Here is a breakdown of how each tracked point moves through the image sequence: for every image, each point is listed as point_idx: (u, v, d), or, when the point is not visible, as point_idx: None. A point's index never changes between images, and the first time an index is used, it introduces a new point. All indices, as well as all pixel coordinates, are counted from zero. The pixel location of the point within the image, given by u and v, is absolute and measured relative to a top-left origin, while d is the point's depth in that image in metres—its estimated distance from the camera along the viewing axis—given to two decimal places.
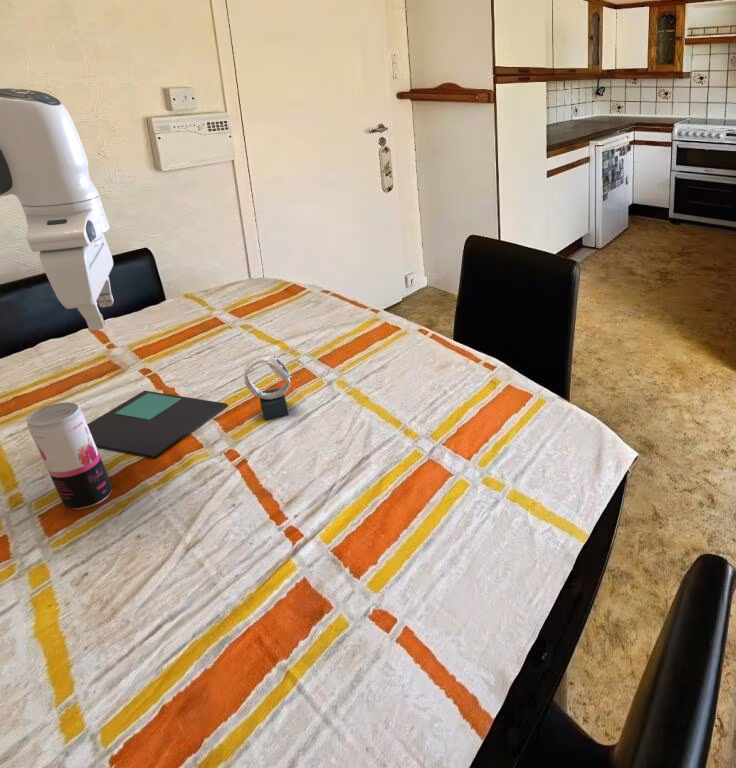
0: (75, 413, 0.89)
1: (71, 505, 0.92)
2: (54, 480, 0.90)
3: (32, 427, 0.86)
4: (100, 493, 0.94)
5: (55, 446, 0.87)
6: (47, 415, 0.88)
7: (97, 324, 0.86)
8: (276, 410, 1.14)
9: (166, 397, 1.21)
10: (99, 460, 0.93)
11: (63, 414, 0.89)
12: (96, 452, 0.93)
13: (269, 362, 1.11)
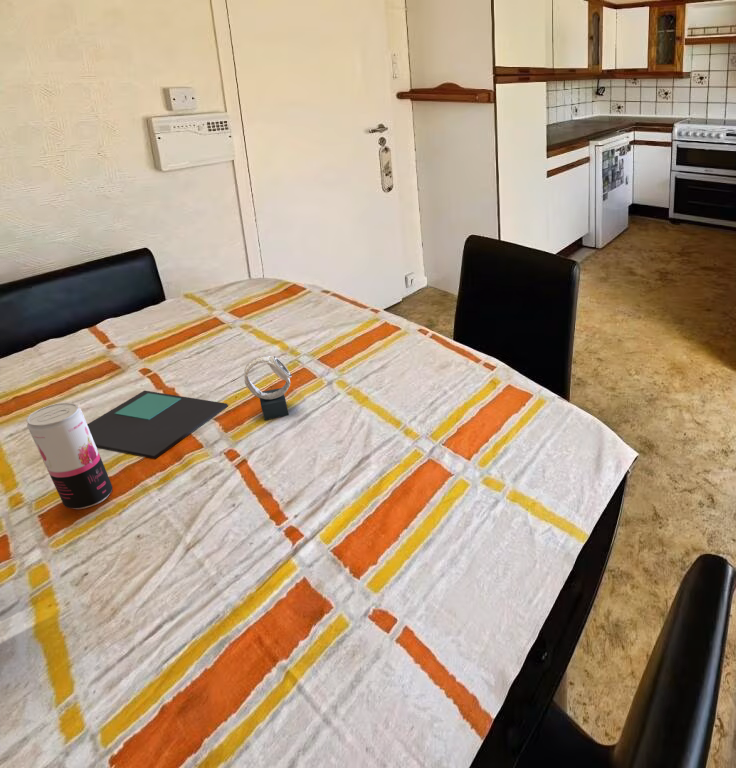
0: (75, 413, 0.89)
1: (71, 505, 0.92)
2: (54, 480, 0.90)
3: (32, 427, 0.86)
4: (100, 493, 0.94)
5: (55, 446, 0.87)
6: (47, 415, 0.88)
7: None
8: (276, 410, 1.14)
9: (166, 397, 1.21)
10: (99, 460, 0.93)
11: (63, 414, 0.89)
12: (96, 452, 0.93)
13: (269, 362, 1.11)
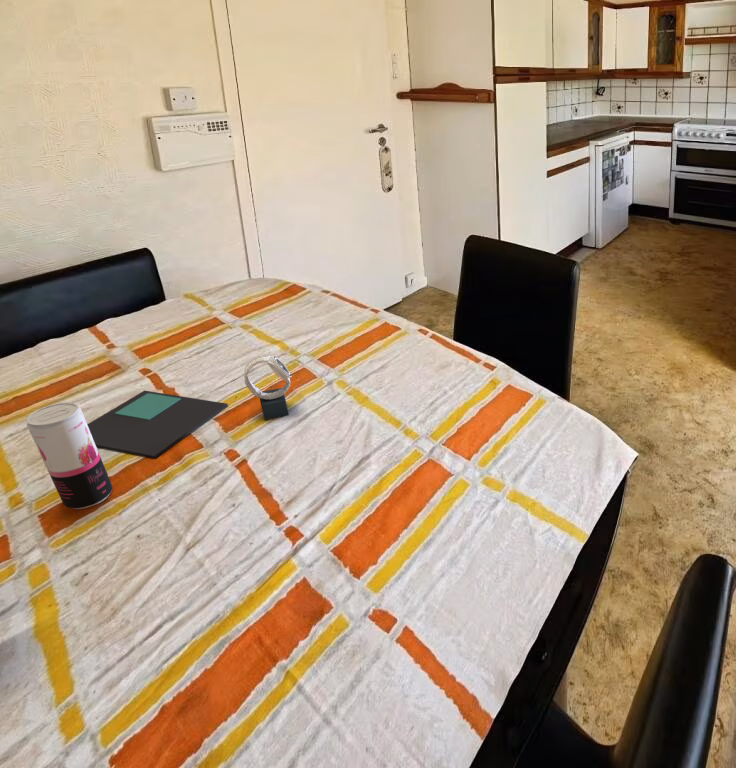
0: (75, 413, 0.89)
1: (71, 505, 0.92)
2: (54, 480, 0.90)
3: (32, 427, 0.86)
4: (100, 493, 0.94)
5: (55, 446, 0.87)
6: (47, 415, 0.88)
7: None
8: (276, 410, 1.14)
9: (166, 397, 1.21)
10: (99, 460, 0.93)
11: (63, 414, 0.89)
12: (96, 452, 0.93)
13: (269, 362, 1.11)
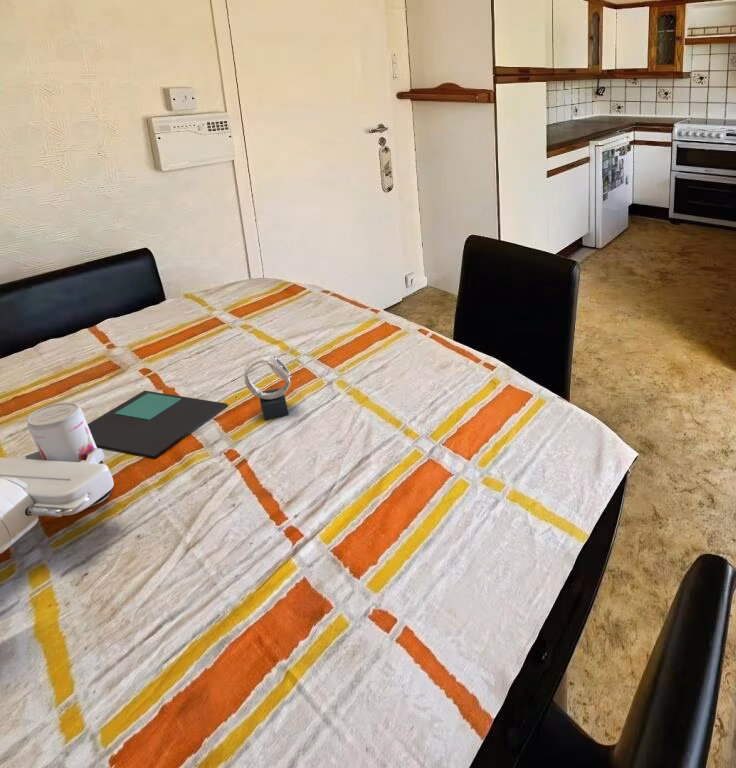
0: (75, 413, 0.89)
1: None
2: None
3: (32, 427, 0.86)
4: None
5: (56, 446, 0.87)
6: (47, 415, 0.88)
7: None
8: (276, 410, 1.14)
9: (166, 397, 1.21)
10: None
11: (63, 413, 0.89)
12: None
13: (269, 362, 1.11)
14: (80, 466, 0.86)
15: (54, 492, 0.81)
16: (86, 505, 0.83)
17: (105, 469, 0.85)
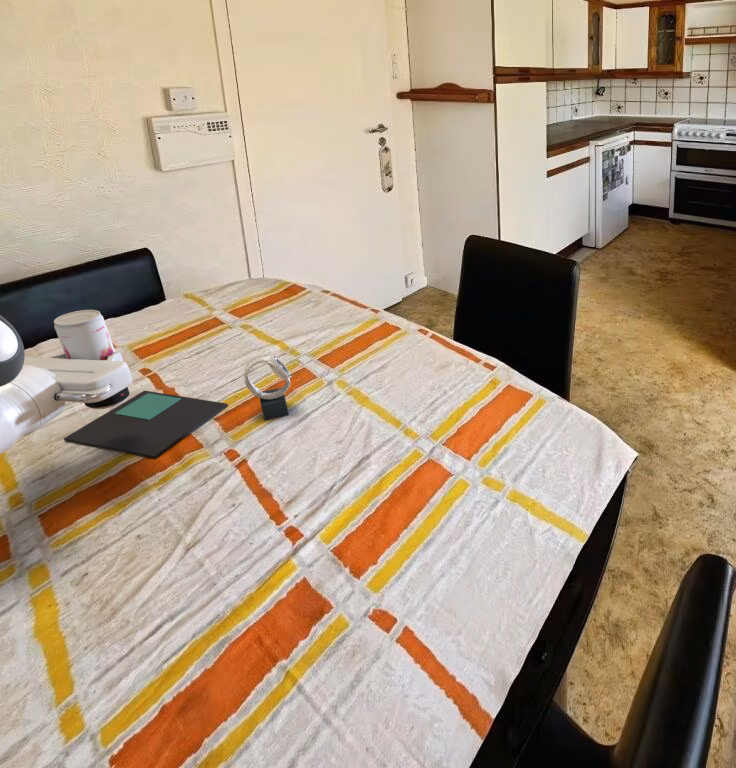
0: (98, 317, 0.97)
1: (92, 405, 1.01)
2: None
3: (59, 327, 0.95)
4: (119, 395, 1.02)
5: (80, 346, 0.96)
6: (72, 318, 0.97)
7: None
8: (276, 410, 1.14)
9: (166, 397, 1.21)
10: None
11: (86, 318, 0.97)
12: None
13: (269, 362, 1.11)
14: (103, 363, 0.94)
15: (80, 380, 0.89)
16: (108, 395, 0.92)
17: (125, 365, 0.94)
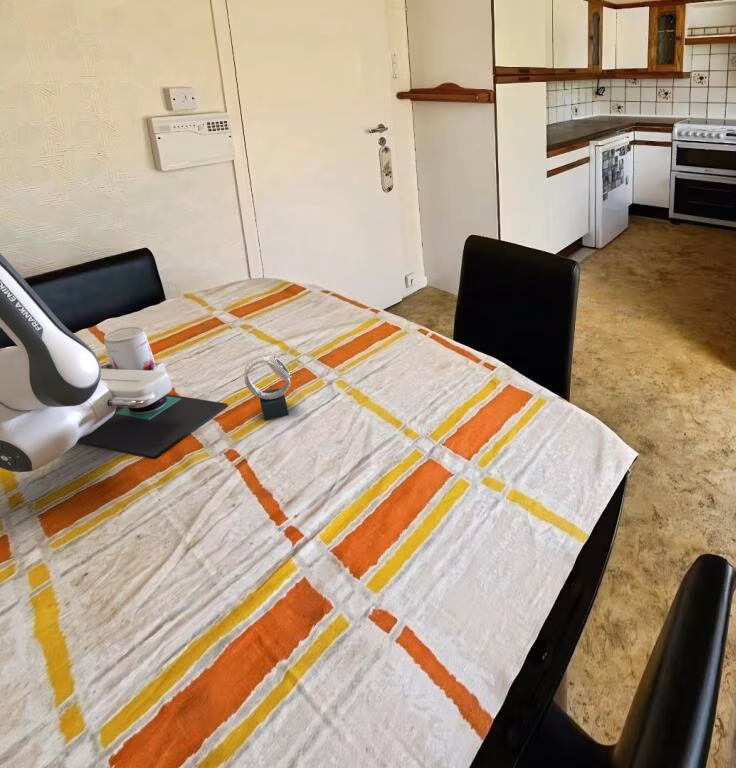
0: (141, 333, 1.11)
1: (136, 409, 1.15)
2: None
3: (109, 343, 1.09)
4: (159, 401, 1.16)
5: (126, 359, 1.10)
6: (119, 335, 1.11)
7: None
8: (276, 410, 1.14)
9: None
10: None
11: (131, 334, 1.11)
12: None
13: (269, 362, 1.11)
14: (146, 372, 1.09)
15: (129, 388, 1.04)
16: (152, 400, 1.06)
17: (166, 374, 1.08)
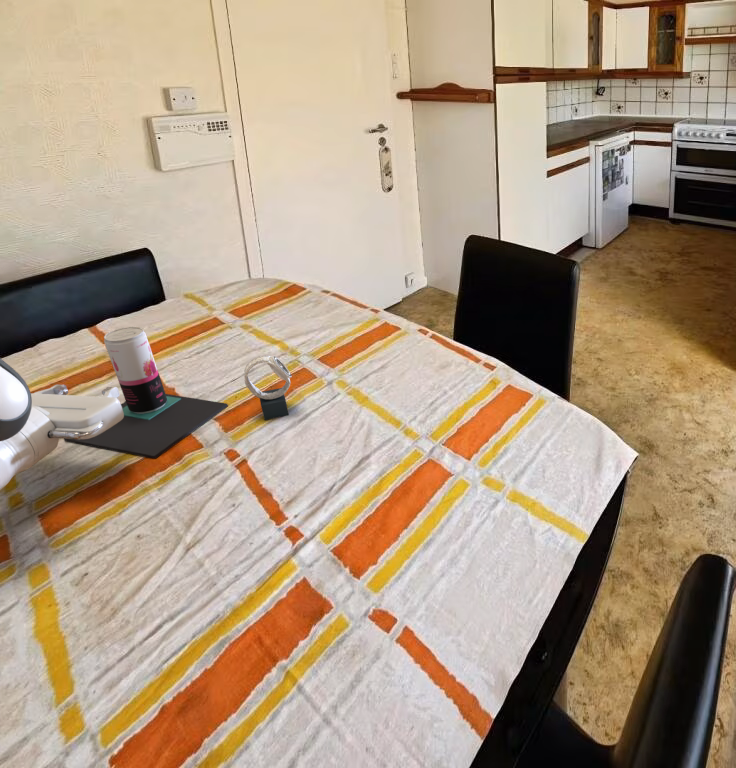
0: (141, 333, 1.11)
1: (136, 410, 1.15)
2: (123, 388, 1.13)
3: (109, 343, 1.09)
4: (159, 401, 1.16)
5: (126, 359, 1.10)
6: (119, 335, 1.11)
7: None
8: (276, 410, 1.14)
9: None
10: (158, 374, 1.16)
11: (131, 334, 1.11)
12: (156, 367, 1.16)
13: (269, 362, 1.11)
14: (95, 399, 0.97)
15: (73, 418, 0.93)
16: (100, 431, 0.95)
17: (116, 401, 0.97)
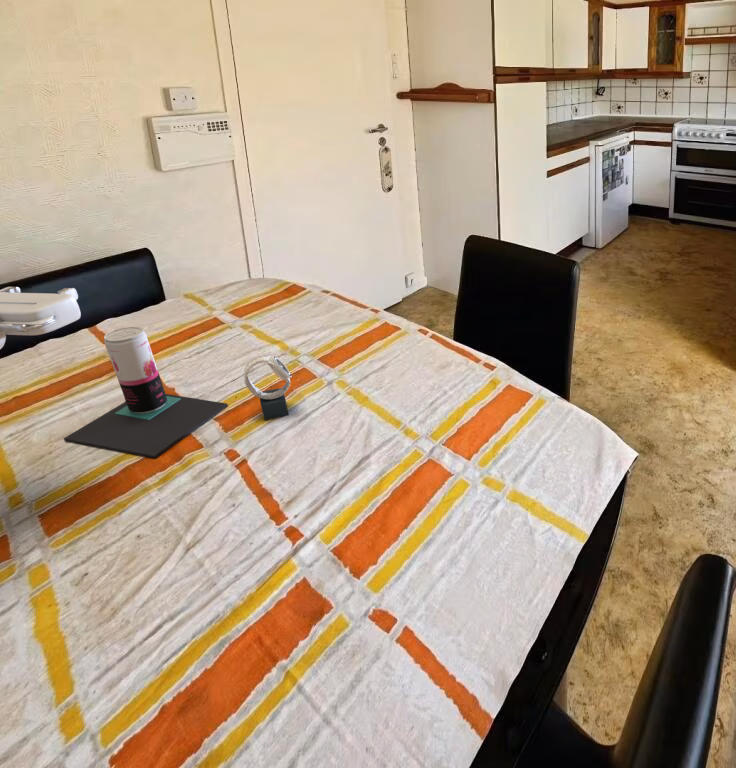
0: (141, 333, 1.11)
1: (136, 409, 1.15)
2: (123, 388, 1.13)
3: (109, 343, 1.09)
4: (159, 401, 1.16)
5: (126, 359, 1.10)
6: (119, 335, 1.11)
7: None
8: (276, 410, 1.14)
9: None
10: (158, 374, 1.16)
11: (131, 334, 1.11)
12: (156, 367, 1.16)
13: (269, 362, 1.11)
14: (48, 295, 0.88)
15: (21, 310, 0.83)
16: (52, 327, 0.85)
17: (72, 297, 0.88)
